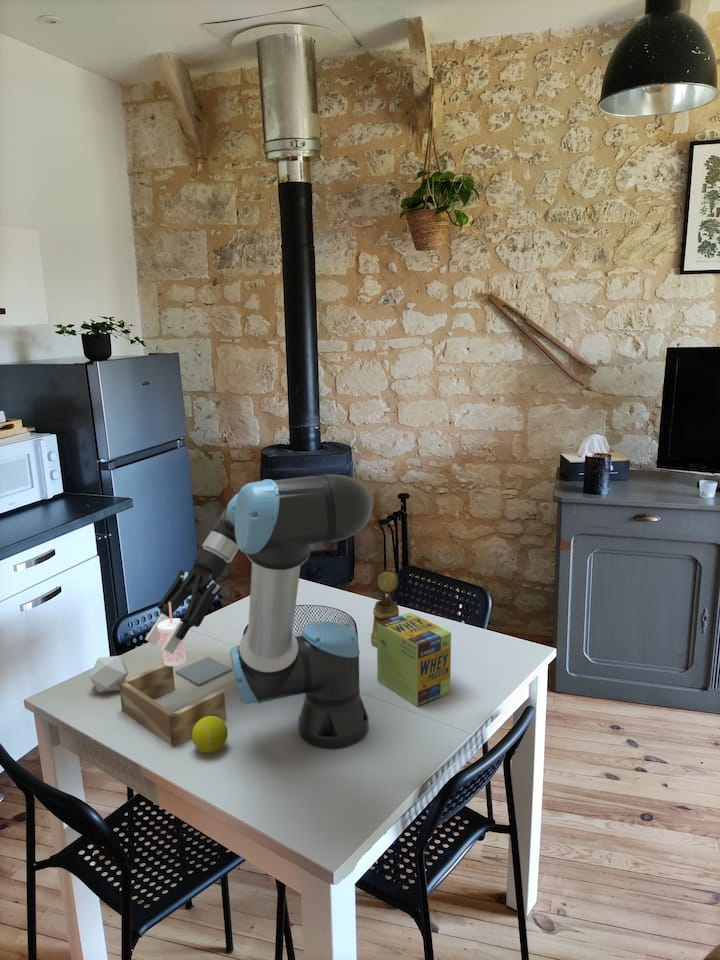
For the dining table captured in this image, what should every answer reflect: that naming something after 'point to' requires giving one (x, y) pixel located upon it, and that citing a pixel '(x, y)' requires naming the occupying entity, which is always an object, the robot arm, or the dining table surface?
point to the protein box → (414, 658)
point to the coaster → (203, 671)
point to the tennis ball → (209, 734)
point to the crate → (157, 717)
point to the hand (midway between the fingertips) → (158, 646)
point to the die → (108, 674)
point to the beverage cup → (165, 631)
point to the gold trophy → (385, 601)
